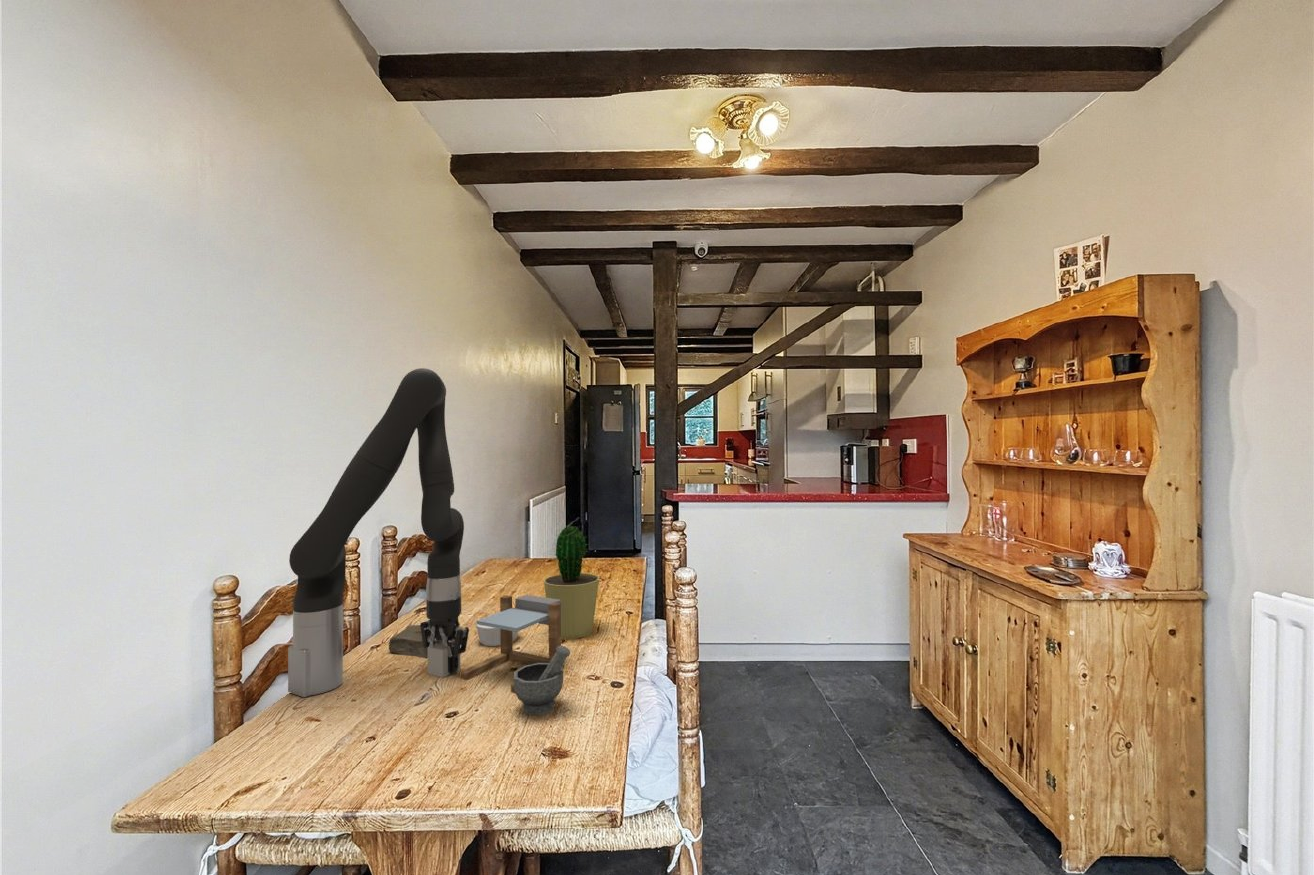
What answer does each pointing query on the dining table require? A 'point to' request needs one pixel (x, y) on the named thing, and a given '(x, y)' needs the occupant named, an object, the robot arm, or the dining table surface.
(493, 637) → the ramekin
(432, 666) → the grey block
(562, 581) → the potted cactus
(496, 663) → the frame
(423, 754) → the dining table surface
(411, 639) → the dark stone slab
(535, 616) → the trapdoor
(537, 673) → the mortar and pestle
